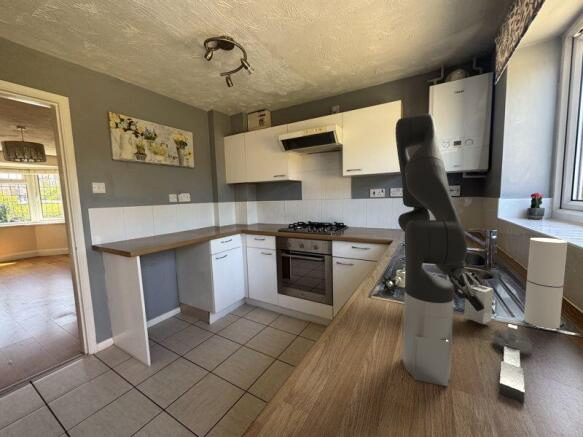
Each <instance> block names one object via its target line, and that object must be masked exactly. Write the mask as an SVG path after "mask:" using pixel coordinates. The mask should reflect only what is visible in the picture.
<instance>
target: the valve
mask: <svg viewBox="0 0 583 437" xmlns="http://www.w3.org/2000/svg"><path fill="white" fill-rule="evenodd" d="M395 271H396V273H395V274H396V275H395V277H394V278H393V279H392V275H389V276H388V277H387V276H384V277H383V280H382V281H381V284H382V285H384V286H383V287H382V288H383V290H386V289H387V292H388V291H390V293H391V292H393V293H396V292H397V288H404V289H405V270H403V269H397V270H395Z"/></svg>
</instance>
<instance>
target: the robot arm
mask: <svg viewBox="0 0 583 437" xmlns="http://www.w3.org/2000/svg"><path fill="white" fill-rule="evenodd" d="M394 132H395V133H394V134H395V142H396V152H397V159H398V165H399V171H400V177H401V185H402V186H401V188H402V189H401V190H402V204H403V205H404V206H405V207H407V208H413V209H412V210H410V211H407V212H406V211H405V212H404V213H401V214H400V215H399V216H398V218H397V219H398V220H397V221H398V225H399V228H400V229H401V230H402V231H403V232H404V258H405V259H404V260H405V261H404V262H405V263H404V264H405V267H404V268H405V270H404V271H405V287H404V301H403V302H404V305H403V335H402V336H403V337H402V339H403V340H402V342H403V343H402V363H403V364H402V365H403V367H404V369H405V370H406V371H407V372H408V373H409V374H410V375H411V376H412V378H413V380H414V381H419V382H422V383H428V384H434V385H438V386H444V387H448V386H449V381H450V379H451V372H452V371H451V370H452V348H453V347H452V346H453V328H454V327H453V325H454V324H453V323H454V322H453V321H454V307H455V306H454V304H455V303H454V302H455V294H456V296H457V297H458V298H459V299H464V300H465V299H467V300H468V301H469V302H470V303H471V305H472V306H473V307H474V308H475V310H476V311H480V310H483V309H484V306H483V305H482V304H481V303H480V301H479V300H478V299H477V298H476V296H474V294H473V292H472V291H471V290H470V288H471V286H470V285H472V284H476V285H481V286H485V287H487V286H486V284H485V283H484V281H483V280H482V279H481V277H480V276H479V275H478V273H477V272H476V271H472V272H470V271H469V270H467V269H466V268H465V266H467V263H466V261H465V260H466V258H467V254H468V241H467V238H466V237H467V236H466V232H465V229H464V226H463V224H462V221H461V218H460V215H459V213H458V211H457V208H456V206H455V203H454V201H453V197H452V194H451V190H450V189H451V188H450V186H449V181H448V176H447V171H446V166H445V163H444V161H443V158H442V155H441V151H440V147H439V142H438V133H437V126H436V122H435V119H434V116H433V115H432V114H431V113H420V114H417V115H416V114H415V115H411V116H406V117H402V118H398V120H397V121H396V124H395V131H394ZM418 146H420V147H419V148H418V149H416V151H415V152H413V154H412V155H411V157H410V155H409V153H408V148H412V147H418ZM429 211H430V212H429ZM430 213H431V215H432V216H433V217H434V218H435V219H431V215H430ZM423 264H429V265H431V264H432V265H435V267H436V268H437V270H438V271H439V272H440V273H441V274H442V275H443V276H444V277H446V276H448V279H445V278H444V277H441V276H438V275H436V274H433V273H432V272H429V271H428V270H426V269H425V268H424V267H423ZM466 290H467V291H468V292H467V291H466ZM473 296H474V297H473ZM494 305H495V303H494V302H493V303H492V306H494Z"/></svg>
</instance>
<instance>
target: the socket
mask: <svg viewBox="0 0 583 437" xmlns="http://www.w3.org/2000/svg"><path fill="white" fill-rule="evenodd" d="M470 286H471V288H470V290H471V291H472V292H473V294H474V296H476V298H477V299H478V300H479V301H480V303H481V304H482V305H483V306H484V309H483V310H480V311H476V310H475V308H474V307H473V306H472V305H471V303H470V302H469V301H468V300H467V299H465V298H464V313H463V315H464V316H463V318H466V319H469V320H471V321H472V322H473V321H474V322H476V323H477V324H478V323H479V324H480V325H485V324H488V323H489V322H491V321H492V319H493V318H492V317H493V316H492V315H493V314H492V313H493V305H492V303H494V301H493V300H494V288H492V287H488V286H486V285H485V286H486V287H485V286H481V285H480V284H479V285H476V284H472V285H470ZM466 291H467V290H466ZM467 292H468V291H467ZM474 296H473V297H474Z"/></svg>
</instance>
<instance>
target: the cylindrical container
mask: <svg viewBox="0 0 583 437" xmlns="http://www.w3.org/2000/svg"><path fill="white" fill-rule="evenodd" d="M567 250H568V241H567V240H563V239H558V238H546V237H530V238H529V251H528V262H527V273H526V274H527V275H526V288H525V299H524V301H525V302H524V314H523V321H524V320H525V321H527V322H528V323H530V324H533V325H535V326H540V327H544V328H553V329H556V328H559V329H560V328H561V325H560V324H561V314H562V306H563V305H562V304H563V294H564V283H565V275H566V274H565V271H566V261H567ZM525 321H524V322H525Z"/></svg>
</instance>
